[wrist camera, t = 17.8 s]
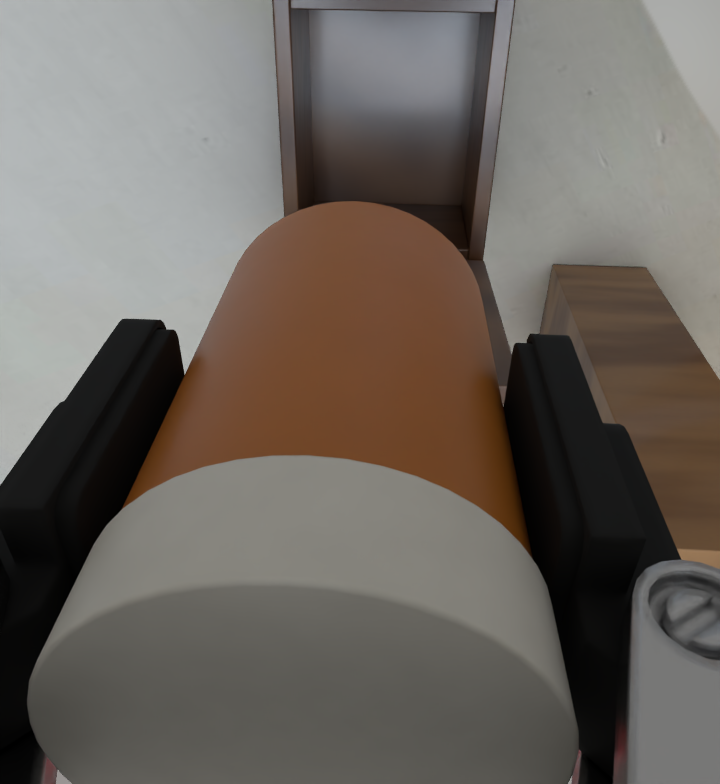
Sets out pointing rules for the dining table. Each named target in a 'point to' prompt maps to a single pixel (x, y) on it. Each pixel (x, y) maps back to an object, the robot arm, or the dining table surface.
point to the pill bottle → (319, 544)
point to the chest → (393, 106)
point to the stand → (648, 390)
